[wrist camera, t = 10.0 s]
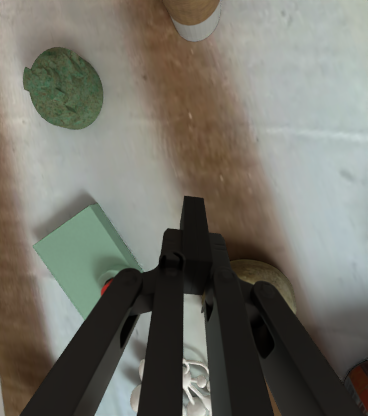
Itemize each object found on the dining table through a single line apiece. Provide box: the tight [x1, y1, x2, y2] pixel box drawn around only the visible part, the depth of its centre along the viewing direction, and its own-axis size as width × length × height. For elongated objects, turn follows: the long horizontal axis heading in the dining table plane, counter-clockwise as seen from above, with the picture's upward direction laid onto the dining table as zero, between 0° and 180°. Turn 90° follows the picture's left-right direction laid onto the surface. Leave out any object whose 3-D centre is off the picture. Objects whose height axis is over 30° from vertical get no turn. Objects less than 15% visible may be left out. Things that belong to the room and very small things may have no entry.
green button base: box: [33, 203, 143, 320], centre depth 34 cm, size 17×14×4 cm
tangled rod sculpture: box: [130, 358, 212, 416], centre depth 36 cm, size 19×14×4 cm
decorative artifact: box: [23, 47, 103, 130], centre depth 27 cm, size 10×7×10 cm
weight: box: [202, 259, 296, 315], centre depth 29 cm, size 14×13×5 cm
